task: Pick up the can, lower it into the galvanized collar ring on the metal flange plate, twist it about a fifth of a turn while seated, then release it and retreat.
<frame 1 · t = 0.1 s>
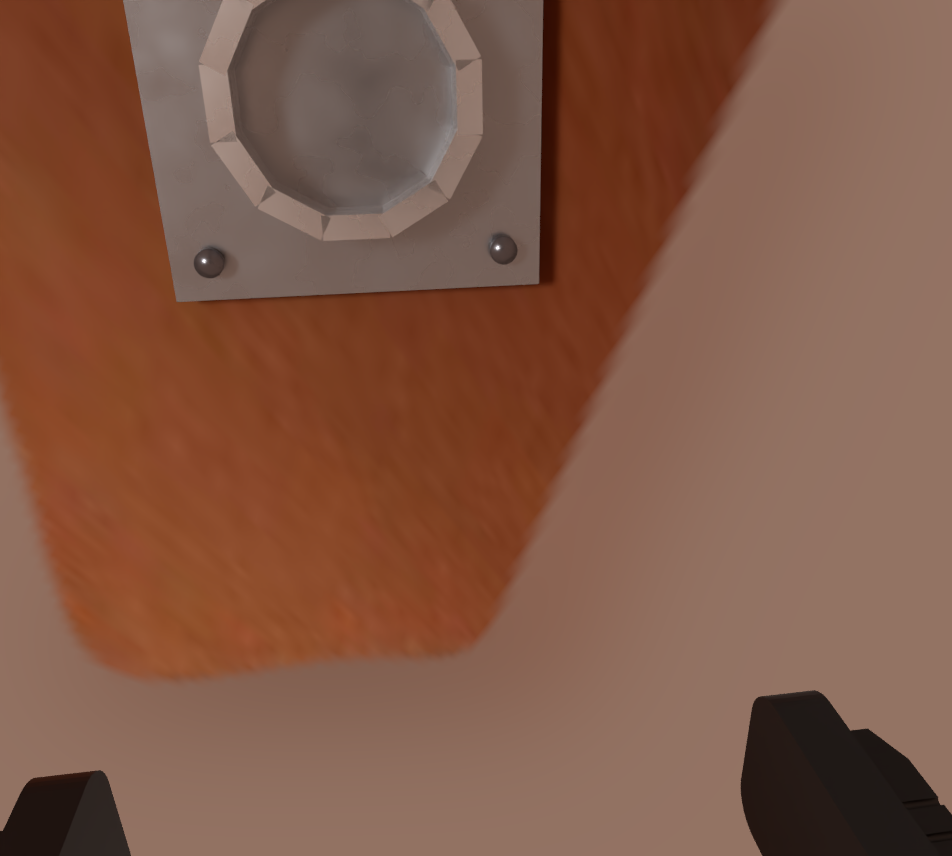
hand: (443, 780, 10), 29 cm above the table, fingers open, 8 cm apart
duct flange: (347, 97, 33), on the table
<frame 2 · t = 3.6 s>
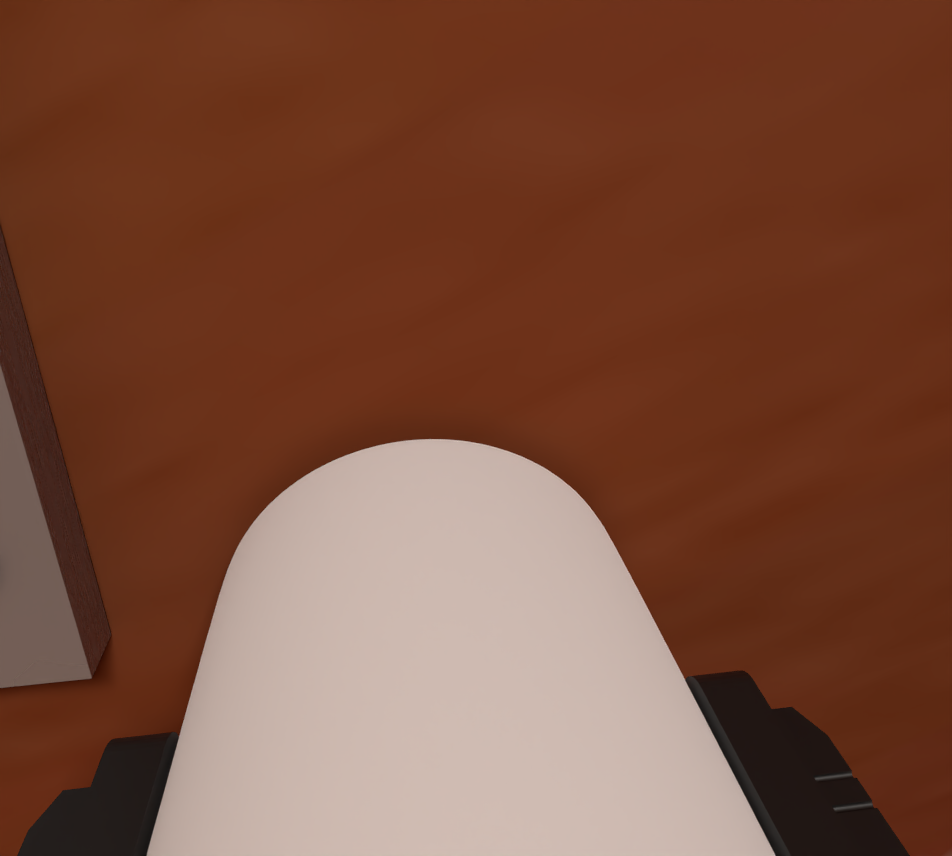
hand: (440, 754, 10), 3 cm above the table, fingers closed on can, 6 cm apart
can: (423, 595, 14), on the table, touching gripper
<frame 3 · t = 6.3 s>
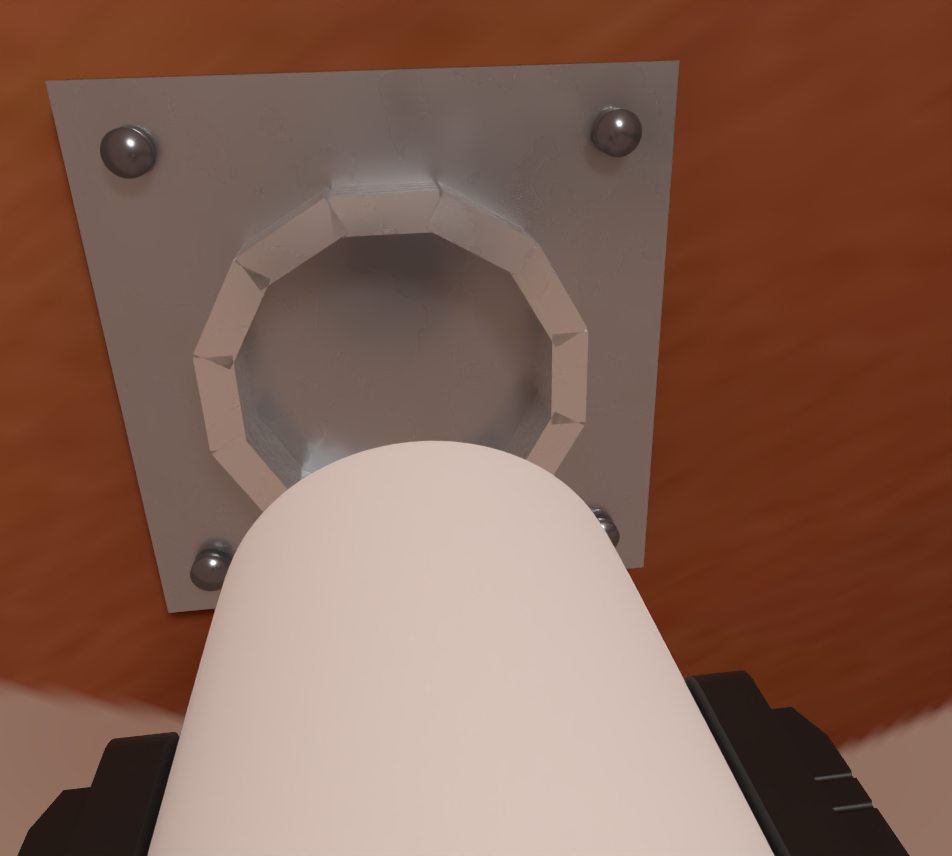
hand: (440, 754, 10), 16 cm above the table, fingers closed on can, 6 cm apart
can: (423, 597, 14), point 12 cm above the table, touching gripper
duct flange: (395, 355, 25), on the table
when the fingers open (5 cm above the table, at t = 9.4 s): can stays where it is, point 1 cm above the table.
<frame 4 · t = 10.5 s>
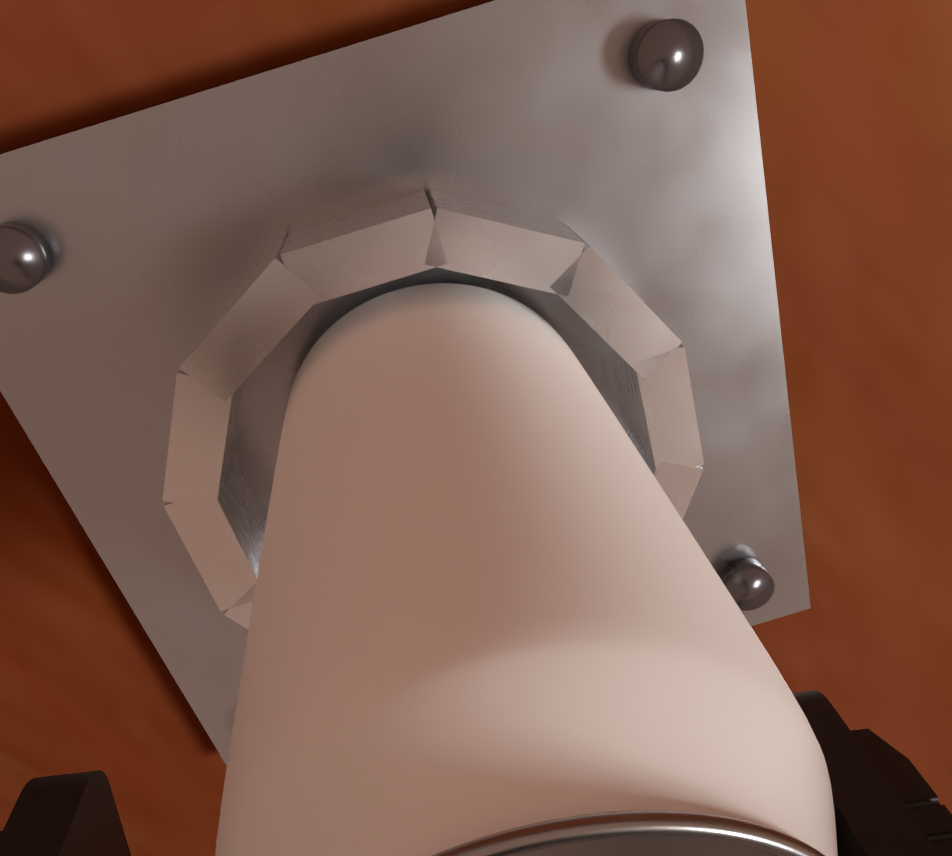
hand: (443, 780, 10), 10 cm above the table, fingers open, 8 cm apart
can: (437, 416, 18), point 1 cm above the table, touching gripper
duct flange: (432, 421, 19), on the table
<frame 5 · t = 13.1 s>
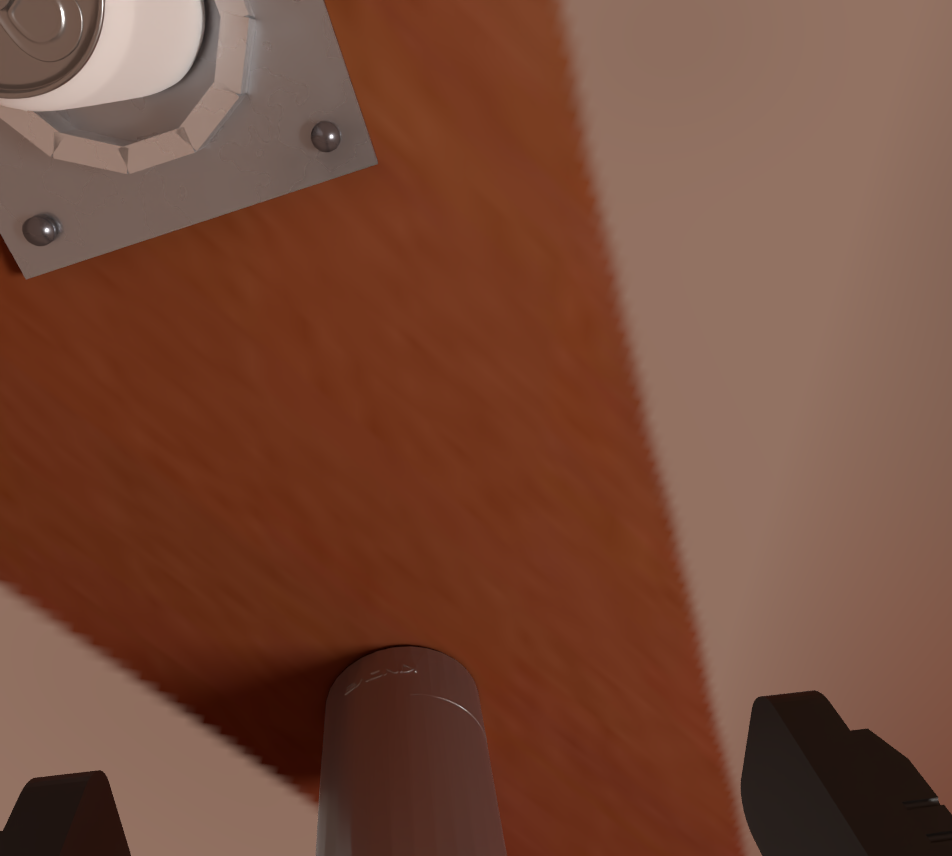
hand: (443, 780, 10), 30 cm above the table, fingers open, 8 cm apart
can: (122, 6, 31), point 1 cm above the table, touching duct flange
duct flange: (120, 23, 32), on the table
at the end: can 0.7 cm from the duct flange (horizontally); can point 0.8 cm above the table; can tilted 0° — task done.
